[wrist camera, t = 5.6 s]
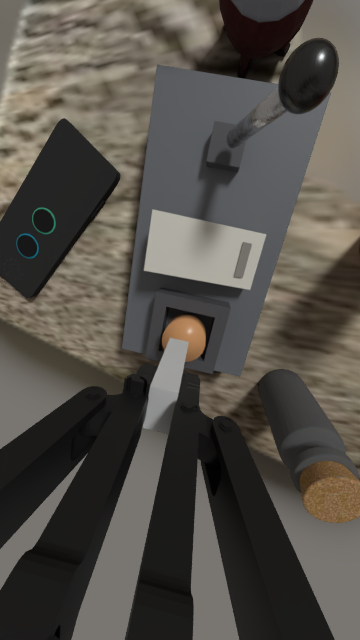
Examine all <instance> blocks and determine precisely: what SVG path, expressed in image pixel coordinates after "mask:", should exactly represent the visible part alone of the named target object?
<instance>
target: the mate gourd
mask: <svg viewBox="0 0 360 640" xmlns="http://www.w3.org/2000/svg"><path fill="white" fill-rule="evenodd" d="M219 2H220V11H221V14H222V18H223V21H224V27H225V30H226V32H227V36H228V38H229V40H230V42H231V43H232V45H233V46H234V47H235V49H236V50H237V52H238V53H239V54H240V55H241V65H240V68H239V71H238V75H237V76H238V78H243V79H245V77H246V75H247V72H248V70H249V67H250V65H251V62H252V60H253V58H261V57H266V56H268V55H270V54H271V53H275V54H277V55H280V56H283V57H284V56H285V55H286V53H287V52H288V50H289V48H290V43H289V42H290V41H291V40H292V39H293V38H294V36H295V35H296V34H297V32H298V31H299V30H300V28H301V26H302V24H303V22H304V20H305V18H306V16H307V14H308V11H309V9H310V7H311V5H312V2H313V0H219Z"/></svg>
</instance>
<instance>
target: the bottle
mask: <svg viewBox="0 0 360 640" xmlns="http://www.w3.org/2000/svg"><path fill="white" fill-rule="evenodd" d="M259 394H260V397H261V400H262V404H263V407H264V410H265V413H266V416H267V419H268V422H269V425H270V428H271V431H272V434H273V437H274V440H275V443H276V446H277V449H278V452H279V455H280V457H281V459H282V461H283V463H284V464H285V465H286V466H287V467H288V468H289V469H290V474H291V478H292V481H293V483H294V485H295V487H296V488H297V490H298V491H299V492H300V493H301V494H302V500H303V505H304V507H305V509H306V510H307V511H308V512H309V513H310V514H311V515H312V516H313V517H315V518H317V519H319V520H322V521H326V522H331V523H332V522H333V523H341V522H347V521H351V520H353V519H356V518H358V517H360V481H359V480H358V477H359V476H358V471H357V469H356V467H355V465H354V464H353V462H352V461H351V459H350V458H349V457H348V456H347V455H346V454H345V452H346V449H345V445H344V442H343V440H342V438H341V437H340V435H339V434H338V432H337V431H336V429H335V428H334V426H333V425H332V423H331V422H330V420H329V419H328V417H327V416H326V414H325V413H324V411H323V410H322V408H321V407H320V405H319V404H318V402H317V401H316V400H315V398H314V397H313V395H312V394H311V392H310V391H309V389H308V388H307V386H306V385H305V384H304V382H303V381H302V379H301V378H300V377H299V376H298V375H297V374H296V373H294V372H292V371H289V370H284V369H279V370H274V371H272V372H269V373H268V374H266V375H265V376H264V377H263V378H262V380H261V381H260V384H259Z"/></svg>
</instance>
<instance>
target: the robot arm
mask: <svg viewBox="0 0 360 640" xmlns="http://www.w3.org/2000/svg"><path fill="white" fill-rule="evenodd" d="M188 344H189V342H187V341H183V340H178V339H174V338H170V339H169V341H168V344H167V346H166V349H165V351H164V354H163V356H162V359H161V361H160V363H159V366H153V365H149V364H144V365H143V366H141V367H140V369H139V370H138V372H137V374H132V375H129V376H127V377H126V378H125V382H124V389H123V393H122V394H119V395H107V392H106V391H105V390H104V389H103V388H101V387H96V386H92V387H87V388H85V389H83V390H82V391H80V392H79V393H77V394H76V395H75V396H73V397H72V398H71V399H69V400H68V401H66V402H65V403H64V404H62V405H61V406H60V407H58V408H57V409H55V410H54V411H53V412H51V413H50V414H49V415H47V416H46V417H44V418H43V419H42V420H40V421H39V422H37V423H36V424H35V425H33V426H32V427H30V428H29V429H28V430H26V431H25V432H24V433H22V434H21V435H19V436H18V437H17V438H15V439H14V440H13V441H11V442H10V443H8V444H7V445H6V446H4V447H3V448H1V449H0V549H1V547H2V546H3V545H4V544H5V543H6V542H7V541H8V540H9V539H10V538H11V537H12V535H13V534H14V533H15V532H16V531H17V530H18V529H19V528H20V527H21V526H22V524H23V523H24V522H25V521H26V520H27V519H28V518H29V517H30V516H31V515H32V513H33V512H34V511H35V510H36V509H37V508H38V507H39V506H40V505H41V504H42V503H43V501H44V500H45V499H46V498H47V497H48V496H49V495H50V494H51V493H52V492H53V490H54V489H55V488H56V487H57V486H58V485H59V484H60V483H61V482H62V481H63V480H64V478H65V477H66V476H67V475H68V474H69V473H70V472H71V471H72V470H73V469H74V467H75V466H76V465H77V464H78V463H79V462H80V461H81V460H82V459H83V458H84V457H85V455H86V454H87V453H88V454H87V456H86V458H85V459H84V461H83V463H82V465H81V466H80V468H79V470H78V472H77V473H76V475H75V477H74V479H73V480H72V482H71V484H70V486H69V487H68V489H67V491H66V493H65V494H64V496H63V498H62V500H61V501H60V503H59V505H58V507H57V509H56V510H55V512H54V514H53V515H52V517H51V519H50V521H49V523H48V524H47V526H46V528H45V529H44V531H43V533H42V535H41V537H40V539H39V540H38V542H37V543H36V545H35V546H34V547H33V549H31V550H29V551H27V552H25V553H24V555H23V556H22V557H21V558H20V559H19V561H18V562H17V564H16V565H15V567H14V568H13V570H12V572H11V573H10V575H9V577H8V578H7V580H6V582H5V584H4V585H3V587H2V588H1V590H0V640H71V638H72V635H73V631H74V627H75V624H76V620H77V616H78V613H79V610H80V607H81V604H82V601H83V598H84V596H85V593H86V590H87V587H88V584H89V581H90V578H91V576H92V573H93V570H94V567H95V564H96V561H97V558H98V555H99V553H100V550H101V547H102V544H103V541H104V538H105V536H106V533H107V530H108V527H109V524H110V521H111V518H112V516H113V513H114V510H115V507H116V504H117V501H118V498H119V495H120V493H121V490H122V487H123V484H124V481H125V478H126V475H127V473H128V470H129V467H130V464H131V461H132V458H133V456H134V453H135V449H136V447H137V444H138V441H139V438H140V435H141V430H142V426H143V428H146V429H150V430H154V431H158V432H162V433H166V434H169V435H168V439H167V444H166V448H165V454H164V458H163V463H162V467H161V472H160V477H159V482H158V486H157V491H156V496H155V501H154V505H153V510H152V515H151V520H150V524H149V529H148V533H147V538H146V543H145V547H144V552H143V557H142V562H141V566H140V571H139V576H138V580H137V585H136V590H135V595H134V599H133V604H132V609H131V613H130V618H129V623H128V628H127V632H126V637H125V640H192V638H193V637H192V636H193V597H192V594H191V570H192V551H193V533H194V514H195V495H196V477H197V458H198V459H199V460H201V466H202V470H203V475H204V480H205V484H206V489H207V493H208V498H209V503H210V507H211V512H212V516H213V521H214V525H215V530H216V535H217V539H218V544H219V548H220V553H221V558H222V562H223V566H224V571H225V576H226V580H227V585H228V590H229V594H230V599H231V603H232V608H233V612H234V617H235V621H236V626H237V631H238V635H239V640H334V637H333V635H332V633H331V631H330V629H329V626H328V624H327V622H326V620H325V618H324V615H323V613H322V611H321V608H320V606H319V604H318V602H317V600H316V597H315V595H314V593H313V591H312V589H311V586H310V584H309V582H308V580H307V577H306V575H305V573H304V571H303V569H302V566H301V564H300V562H299V560H298V558H297V555H296V553H295V551H294V549H293V546H292V544H291V542H290V540H289V538H288V535H287V533H286V531H285V529H284V527H283V524H282V522H281V520H280V518H279V515H278V513H277V511H276V509H275V507H274V504H273V502H272V500H271V498H270V496H269V493H268V491H267V489H266V487H265V484H264V482H263V480H262V478H261V476H260V474H259V471H258V469H257V467H256V465H255V462H254V460H253V458H252V456H251V454H250V451H249V449H248V447H247V445H246V442H245V440H244V438H243V436H242V434H241V431H240V429H239V427H238V425H237V424H236V422H234V421H233V420H232V419H230V418H228V417H225V416H217V417H215V418H214V420H213V419H211V418H209V417H207V416H206V415H204V414H203V413H202V412H201V410H200V407H199V392H200V379H199V377H198V375H195V374H190V373H186V372H183V369H184V364H185V359H186V354H187V349H188Z"/></svg>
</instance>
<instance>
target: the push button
mask: <svg viewBox="0 0 360 640" xmlns="http://www.w3.org/2000/svg"><path fill="white" fill-rule="evenodd" d="M170 338H174V339H178V340H183V341H187V342H189V344H188V349H187V354H186V359H185V362H189V361H193V360H195V359H197V358H198V357H199V356H200V355H201V354H202V353H203V351H204V348H205V342H206V329H205V326H204V324H203V323H202V321H201V320H200V319H199V318H197V317H195V316H193V315H190V314H181V315H178V316H176V317H174V318H173V319H172V320H171V321H170V322H169V324H168V326H167V327H166V329H165V331H164V333H163V336H162V346H163V348H164V350H165V349H166V346H167V344H168V341H169V339H170Z"/></svg>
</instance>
